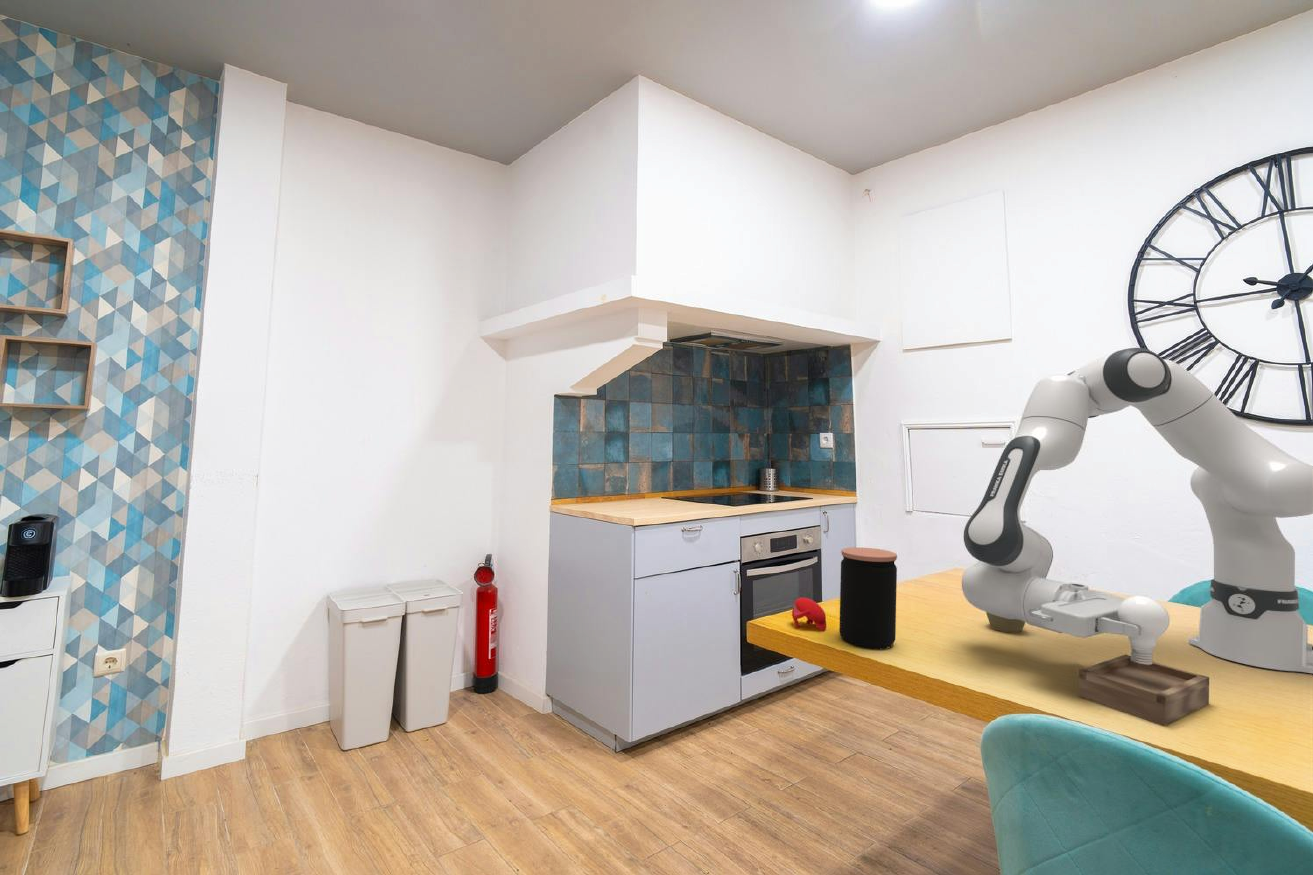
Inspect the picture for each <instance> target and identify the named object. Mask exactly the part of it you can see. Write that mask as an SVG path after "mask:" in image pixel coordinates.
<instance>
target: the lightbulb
mask: <svg viewBox="0 0 1313 875" xmlns="http://www.w3.org/2000/svg"><path fill="white" fill-rule="evenodd" d="M1118 618H1119V621H1120V622H1124V623H1127V622H1128V623H1132V624H1136V625H1139V626H1140V627H1141V635H1140V636H1138V637H1130V636H1127V637H1128V638H1127V639H1128V641H1129V643H1130V650H1131V651H1130V653H1131V654H1130V656H1131V660H1132V661H1133V662H1135V663H1136V664H1137V665H1139V666H1148V665H1151V664H1152V662H1154V661H1153V657H1154V656H1153V653H1154V648H1155V647H1156V645H1157V641H1158V640H1159V638H1160V637H1161V636H1162V635H1163V634H1164V633H1165V632H1166V631H1167V630H1168V628H1169V626H1170V619H1171V618H1170V615H1169V612H1168V610H1167V609H1166V607H1165V606H1164V605H1163V604H1162V603H1161V602H1159V601H1157V600H1156V599H1154V598H1152V597H1148V596H1146V595H1133V596H1129V597H1126V599H1125V600H1123V601H1122V602H1121V604H1120V605H1119V608H1118Z"/></svg>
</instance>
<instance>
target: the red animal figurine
mask: <svg viewBox="0 0 1313 875" xmlns="http://www.w3.org/2000/svg"><path fill="white" fill-rule="evenodd" d="M791 616H792V619H793V622H794V626H795V628H797V629H798V628H800V623H799V621H798V620H799V619H802V618H804V617H806V618H807V620H806V621H805V623H806V625H809V624H813V623H814V625H815V626H816V628H817V629H818V630H819V631H820V632H822V633H824V632H825V631H826V630H827V617H826V612H825V610H824V609H823V608H822V607H821V605H820V604H819V603H817V602H816V601H814V600H812V599H810V598H807V597H799V598H797V599H796V600H794V606H793V608H792V611H791Z"/></svg>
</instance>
